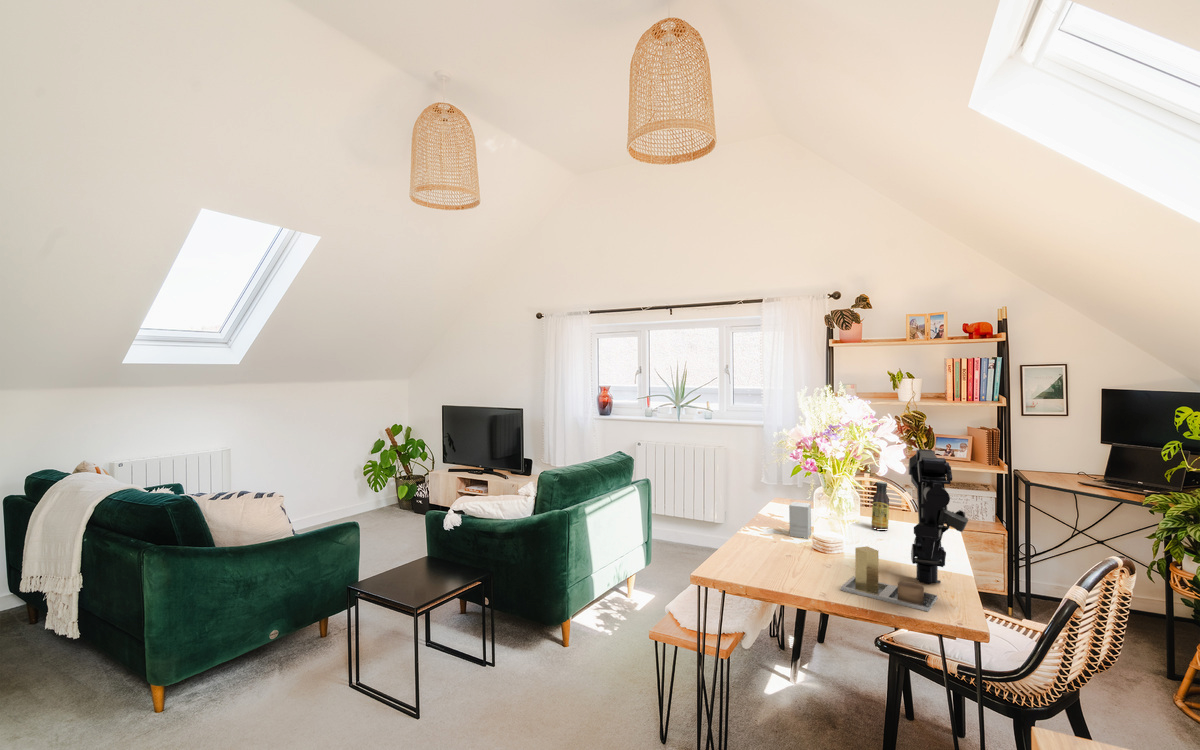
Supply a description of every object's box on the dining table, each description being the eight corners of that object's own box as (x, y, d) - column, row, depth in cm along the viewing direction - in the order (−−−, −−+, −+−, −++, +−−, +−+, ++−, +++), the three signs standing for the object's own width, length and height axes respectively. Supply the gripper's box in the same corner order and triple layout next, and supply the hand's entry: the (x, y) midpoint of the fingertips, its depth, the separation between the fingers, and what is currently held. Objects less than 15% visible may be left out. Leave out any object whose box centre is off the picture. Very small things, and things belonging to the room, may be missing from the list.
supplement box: (811, 534, 230) (811, 503, 230) (808, 539, 224) (808, 507, 223) (792, 531, 234) (792, 501, 234) (788, 536, 227) (788, 504, 227)
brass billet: (867, 585, 172) (867, 546, 172) (878, 591, 168) (878, 550, 168) (855, 587, 171) (855, 547, 171) (866, 592, 166) (866, 552, 166)
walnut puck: (900, 593, 166) (900, 579, 166) (926, 599, 162) (926, 585, 162) (894, 600, 161) (894, 586, 161) (920, 606, 157) (920, 592, 157)
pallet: (853, 582, 177) (853, 576, 177) (937, 602, 162) (937, 595, 162) (840, 593, 169) (840, 586, 169) (928, 615, 154) (928, 608, 154)
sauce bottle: (870, 530, 236) (870, 482, 236) (872, 526, 241) (872, 480, 241) (888, 532, 232) (888, 484, 232) (889, 529, 238) (890, 481, 237)
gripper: (959, 511, 152) (959, 569, 152) (971, 499, 166) (970, 552, 166) (913, 504, 159) (913, 560, 159) (928, 494, 173) (927, 544, 173)
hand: (932, 554), depth 164 cm, fingers open, 9 cm apart
